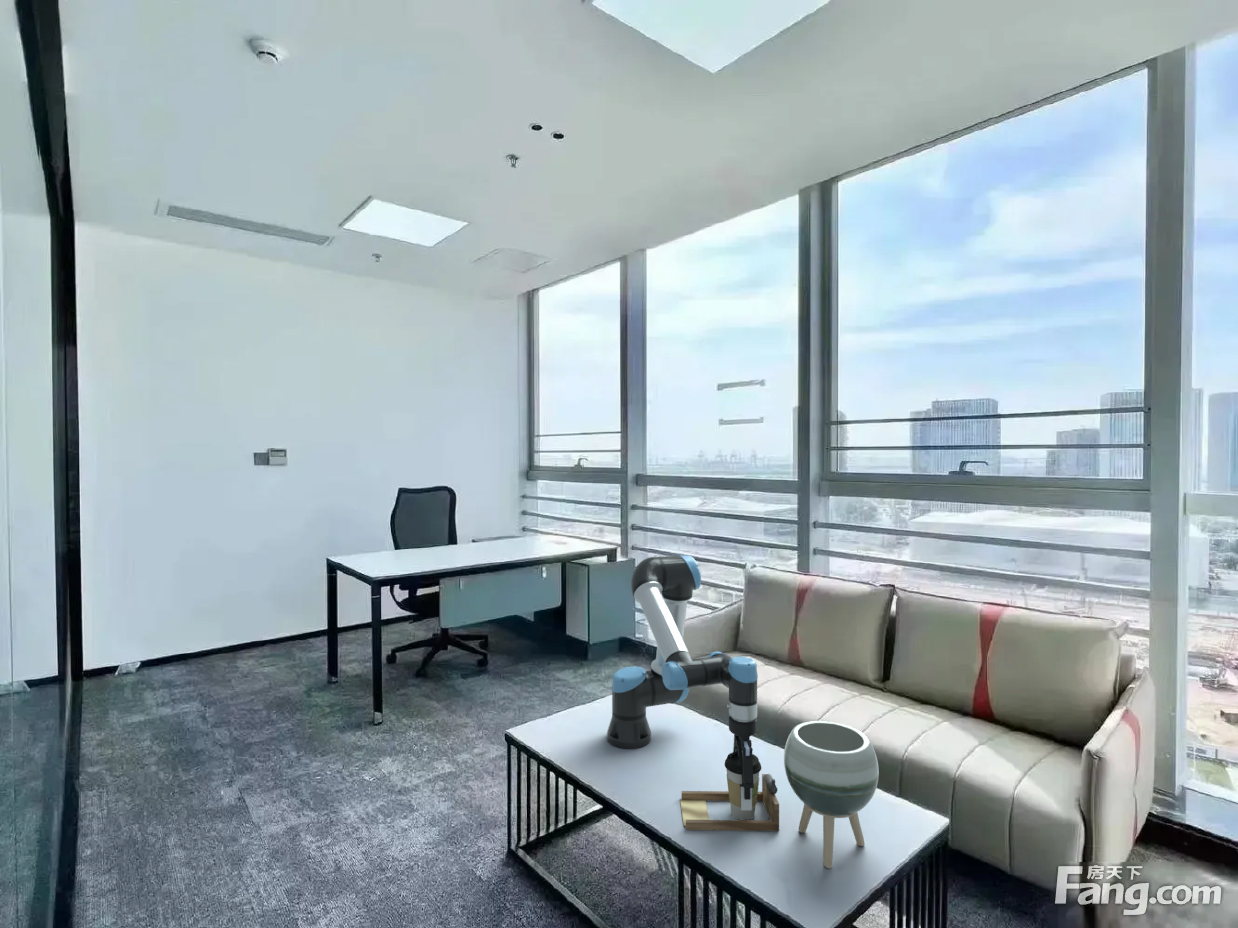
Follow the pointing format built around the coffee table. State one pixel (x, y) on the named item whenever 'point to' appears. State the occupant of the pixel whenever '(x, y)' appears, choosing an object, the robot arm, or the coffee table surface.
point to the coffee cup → (735, 790)
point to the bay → (697, 809)
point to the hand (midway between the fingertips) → (742, 798)
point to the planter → (831, 775)
